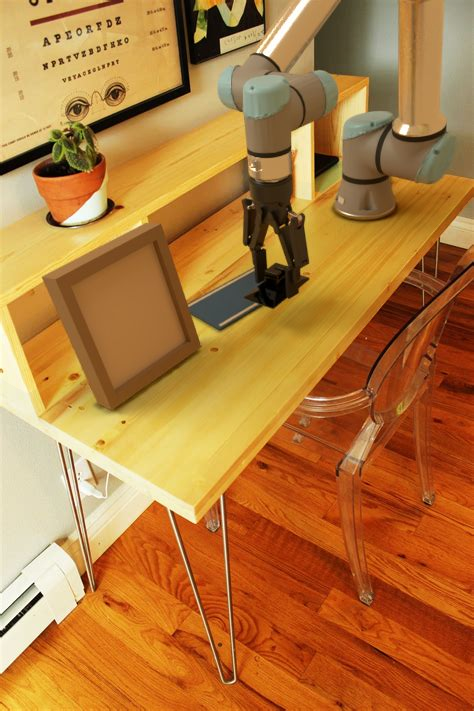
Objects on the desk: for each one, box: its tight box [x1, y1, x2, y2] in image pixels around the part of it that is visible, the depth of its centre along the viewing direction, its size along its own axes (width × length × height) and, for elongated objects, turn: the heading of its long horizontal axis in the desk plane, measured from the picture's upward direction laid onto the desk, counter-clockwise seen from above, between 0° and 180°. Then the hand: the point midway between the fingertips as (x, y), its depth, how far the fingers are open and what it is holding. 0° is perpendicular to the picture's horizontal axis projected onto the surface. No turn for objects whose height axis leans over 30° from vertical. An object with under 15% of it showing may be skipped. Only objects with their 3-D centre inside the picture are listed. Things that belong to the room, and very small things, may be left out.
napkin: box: [187, 267, 264, 331], centre depth 133 cm, size 22×12×1 cm, turn 132°
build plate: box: [244, 262, 310, 310], centre depth 120 cm, size 12×7×5 cm, turn 142°
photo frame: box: [41, 222, 202, 411], centre depth 110 cm, size 15×22×25 cm
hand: (276, 287), depth 122 cm, fingers closed on build plate, 8 cm apart
